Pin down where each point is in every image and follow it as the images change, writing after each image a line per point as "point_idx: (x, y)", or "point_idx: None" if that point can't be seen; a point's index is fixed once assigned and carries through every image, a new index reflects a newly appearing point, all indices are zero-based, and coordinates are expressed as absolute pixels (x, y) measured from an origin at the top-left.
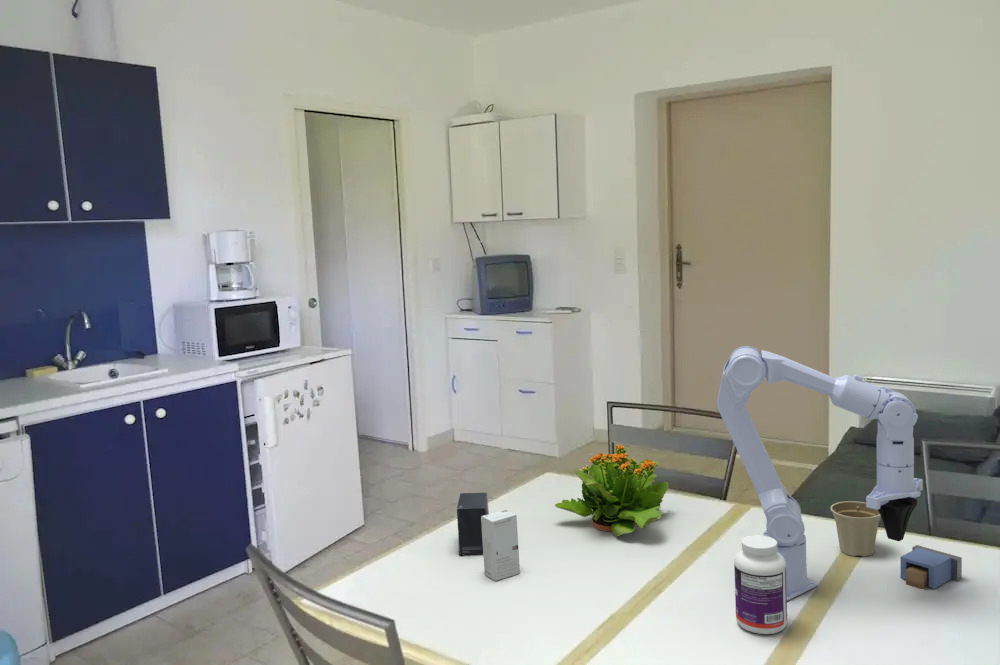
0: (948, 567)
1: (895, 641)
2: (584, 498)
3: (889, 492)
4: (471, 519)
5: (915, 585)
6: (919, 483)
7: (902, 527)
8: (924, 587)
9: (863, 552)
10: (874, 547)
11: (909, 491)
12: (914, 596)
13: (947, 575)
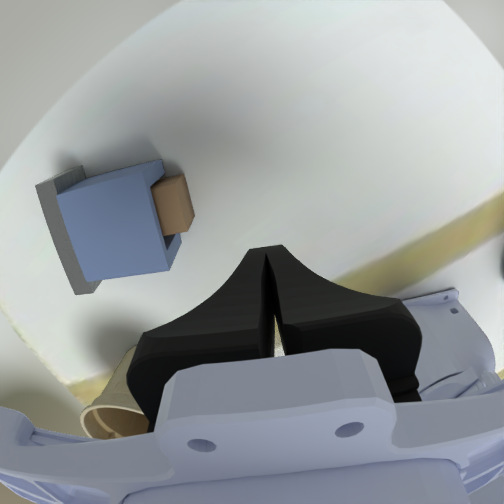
0: (81, 184)
1: (452, 67)
2: None
3: (464, 474)
4: None
5: (187, 194)
6: (5, 458)
7: (285, 266)
8: (177, 175)
9: None
10: (130, 353)
11: (337, 476)
12: (236, 159)
13: (94, 177)
